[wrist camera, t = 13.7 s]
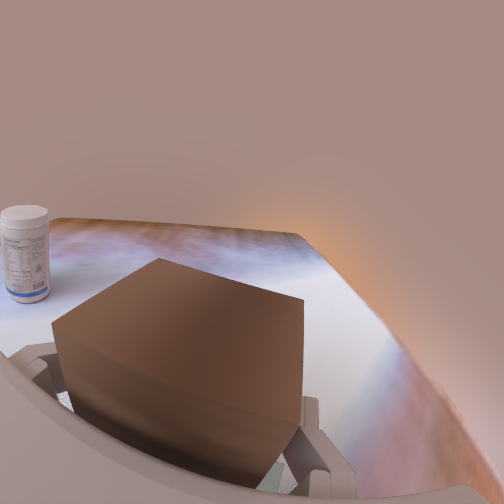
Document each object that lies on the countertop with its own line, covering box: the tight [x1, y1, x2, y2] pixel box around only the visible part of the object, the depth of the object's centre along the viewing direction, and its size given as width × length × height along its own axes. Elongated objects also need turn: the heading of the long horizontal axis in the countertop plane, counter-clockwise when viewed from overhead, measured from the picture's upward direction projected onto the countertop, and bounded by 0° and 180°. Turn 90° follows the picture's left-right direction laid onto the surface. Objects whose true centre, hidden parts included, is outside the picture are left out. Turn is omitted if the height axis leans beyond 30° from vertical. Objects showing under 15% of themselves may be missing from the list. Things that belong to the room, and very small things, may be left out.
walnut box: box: [51, 258, 304, 489], centre depth 9 cm, size 6×6×9 cm
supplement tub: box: [0, 205, 51, 303], centre depth 34 cm, size 10×10×15 cm
